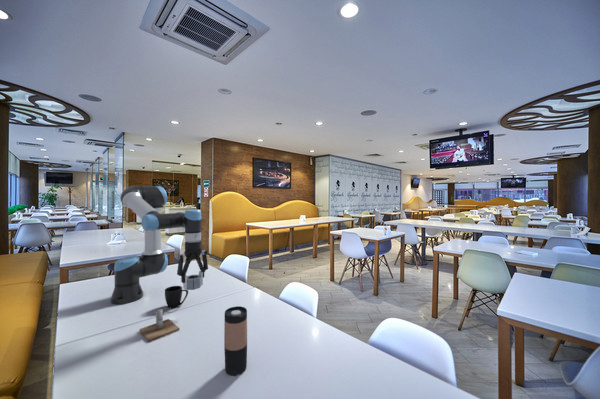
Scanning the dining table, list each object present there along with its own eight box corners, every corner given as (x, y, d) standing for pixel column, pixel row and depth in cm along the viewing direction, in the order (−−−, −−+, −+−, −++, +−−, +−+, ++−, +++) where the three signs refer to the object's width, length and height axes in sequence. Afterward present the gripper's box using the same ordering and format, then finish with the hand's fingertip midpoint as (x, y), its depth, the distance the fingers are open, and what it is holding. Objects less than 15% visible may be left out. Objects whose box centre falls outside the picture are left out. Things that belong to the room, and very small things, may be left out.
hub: (182, 287, 124) (182, 277, 124) (196, 283, 130) (196, 273, 129) (189, 291, 119) (189, 280, 119) (203, 286, 125) (203, 277, 125)
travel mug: (226, 361, 89) (226, 306, 89) (248, 360, 90) (248, 305, 90) (222, 377, 82) (221, 317, 81) (245, 375, 82) (245, 316, 82)
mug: (183, 310, 128) (182, 292, 128) (161, 309, 130) (161, 291, 130) (191, 303, 137) (191, 286, 136) (171, 302, 138) (171, 285, 138)
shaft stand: (139, 331, 109) (139, 310, 109) (168, 320, 118) (168, 302, 118) (148, 342, 101) (148, 320, 101) (179, 330, 110) (179, 310, 110)
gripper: (175, 245, 114) (175, 294, 115) (215, 239, 129) (215, 283, 129) (168, 242, 119) (168, 290, 120) (208, 237, 134) (208, 279, 135)
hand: (193, 286), depth 125 cm, fingers closed on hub, 7 cm apart
